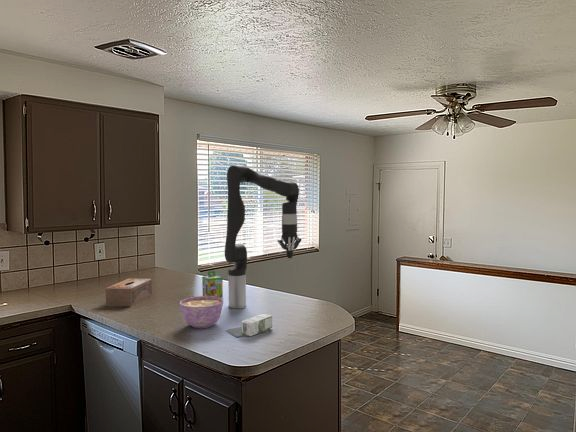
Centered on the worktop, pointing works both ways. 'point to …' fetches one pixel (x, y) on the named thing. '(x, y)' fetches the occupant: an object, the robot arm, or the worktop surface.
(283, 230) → the robot arm
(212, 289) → the green juice carton
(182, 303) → the bowl of food
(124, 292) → the tissue box cover
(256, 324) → the syrup box
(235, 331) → the mat
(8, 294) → the worktop surface
